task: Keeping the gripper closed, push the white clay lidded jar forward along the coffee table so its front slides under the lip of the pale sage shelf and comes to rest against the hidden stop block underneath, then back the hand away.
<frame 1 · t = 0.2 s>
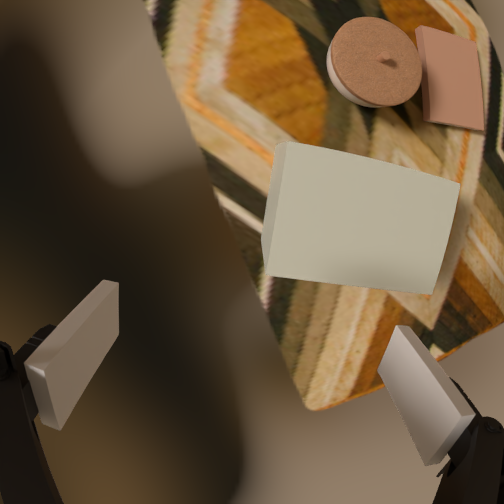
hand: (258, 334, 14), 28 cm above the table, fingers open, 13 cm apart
book: (446, 79, 35), on the table
lidded jar: (357, 74, 35), on the table
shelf: (338, 204, 40), on the table
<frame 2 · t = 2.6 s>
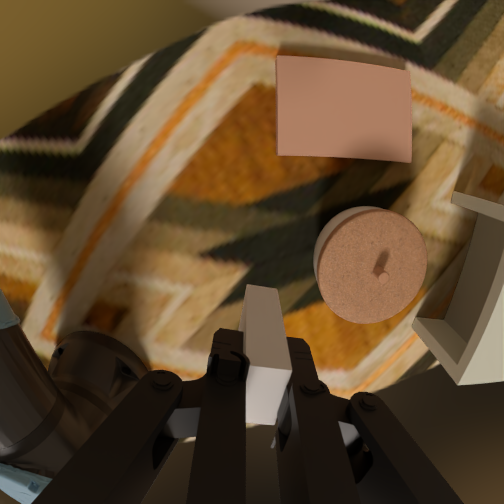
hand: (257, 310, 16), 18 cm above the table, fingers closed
book: (342, 110, 31), on the table
lidded jar: (351, 245, 35), on the table
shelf: (467, 269, 36), on the table
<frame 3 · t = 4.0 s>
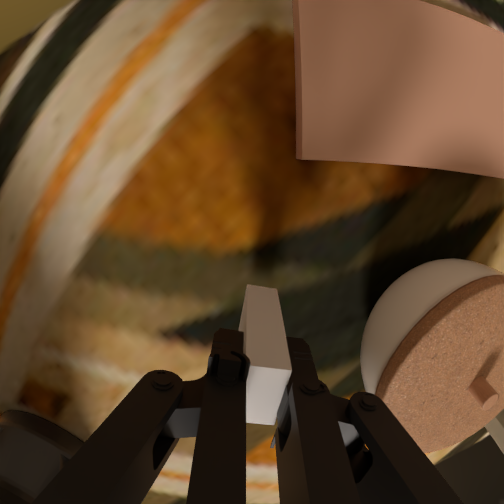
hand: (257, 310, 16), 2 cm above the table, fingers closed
book: (408, 84, 16), on the table
lidded jar: (412, 312, 20), on the table
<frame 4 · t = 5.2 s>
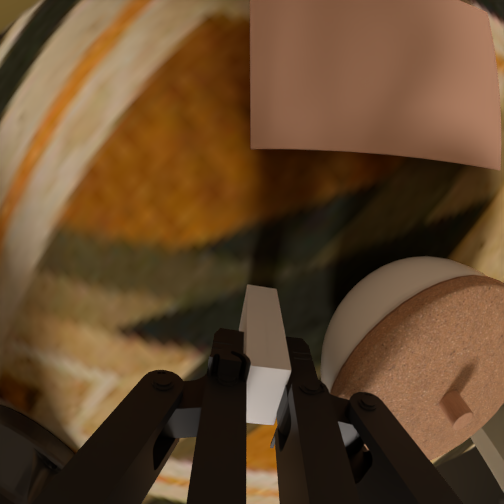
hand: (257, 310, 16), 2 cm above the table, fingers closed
book: (378, 67, 15), on the table
lidded jar: (387, 315, 19), on the table, touching gripper
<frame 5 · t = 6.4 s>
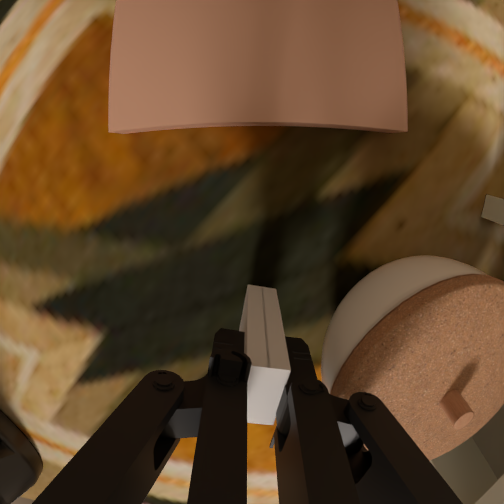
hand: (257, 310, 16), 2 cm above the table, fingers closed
book: (257, 38, 14), on the table
lidded jar: (387, 314, 19), on the table, touching gripper
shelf: (497, 328, 19), on the table
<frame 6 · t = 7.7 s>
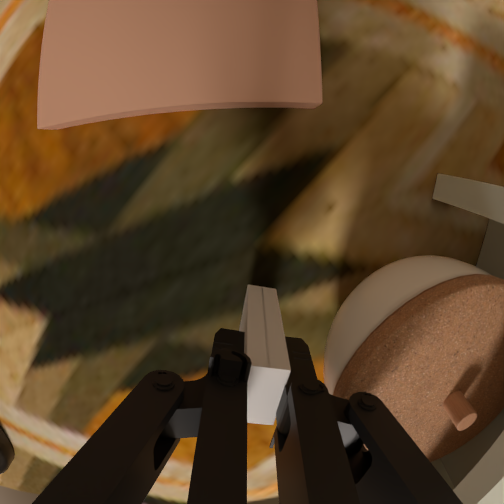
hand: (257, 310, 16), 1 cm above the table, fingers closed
book: (176, 27, 14), on the table
lidded jar: (390, 315, 18), on the table, touching gripper, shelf
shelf: (463, 325, 19), on the table
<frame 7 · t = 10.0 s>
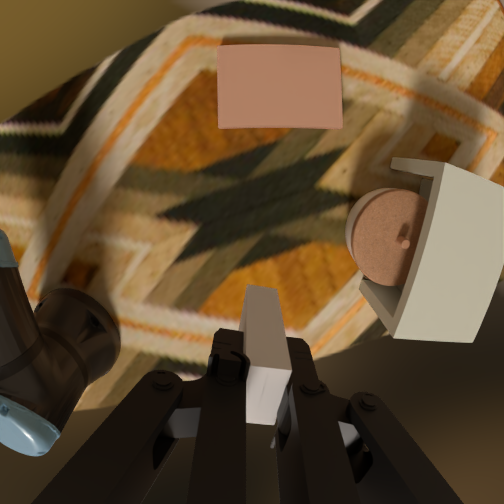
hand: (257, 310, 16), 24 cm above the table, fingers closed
book: (278, 88, 35), on the table
lidded jar: (374, 223, 40), on the table
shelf: (415, 233, 40), on the table
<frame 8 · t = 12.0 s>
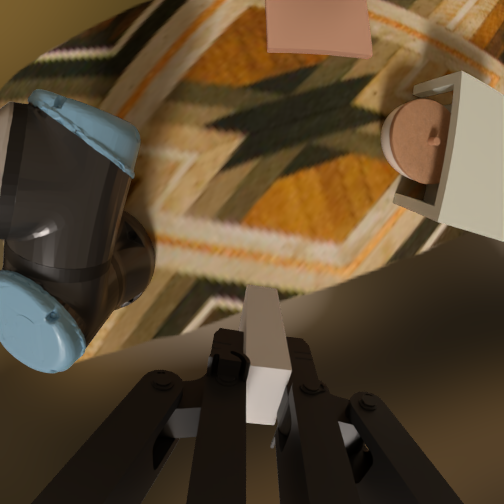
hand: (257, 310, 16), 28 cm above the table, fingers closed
book: (316, 24, 36), on the table
lidded jar: (402, 141, 41), on the table, touching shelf
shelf: (438, 154, 41), on the table
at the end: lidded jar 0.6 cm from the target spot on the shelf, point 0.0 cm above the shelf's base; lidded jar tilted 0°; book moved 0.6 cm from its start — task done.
